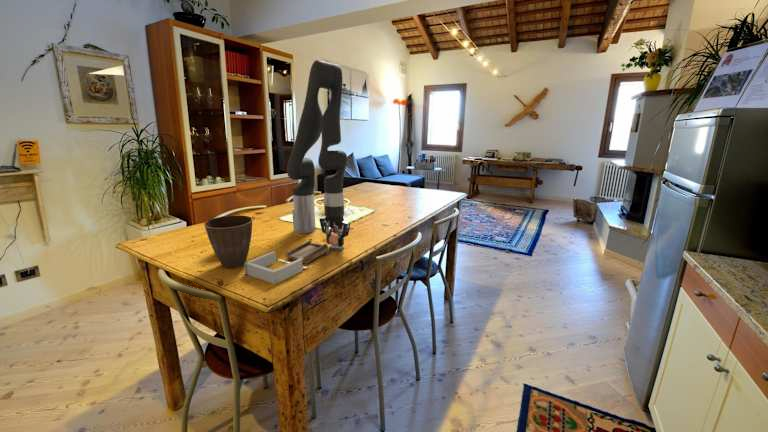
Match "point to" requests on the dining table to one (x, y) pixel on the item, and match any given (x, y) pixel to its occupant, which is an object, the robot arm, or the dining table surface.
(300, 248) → the walnut ramp
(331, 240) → the rubber ball
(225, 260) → the plant pot
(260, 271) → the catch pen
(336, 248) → the coaster
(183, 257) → the dining table surface
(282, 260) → the painted line
